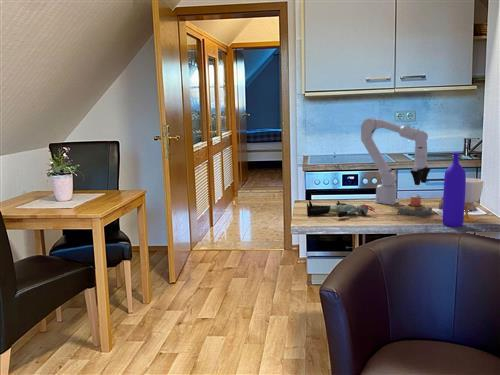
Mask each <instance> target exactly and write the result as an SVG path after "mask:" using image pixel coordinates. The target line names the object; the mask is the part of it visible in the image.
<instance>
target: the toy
mask: <svg viewBox="0 0 500 375" xmlns="http://www.w3.org/2000/svg"><path fill="white" fill-rule="evenodd" d="M335 204H336V205H332V206H331V205H319V204H318V205H316V204H312V202H311V200H310V198H308V203H307V202H306V214H307V217H309V216H310V217H312V216H314V217H315V216H317V217H318V215H319V216H323V215H326V214H328V213H336V215H335V217H336V218H344V217H346V216H347V215H350V216H351V215H354V214H355V213H357V214H358V215H360V216H366V215H367V214H368V213H369V211H370V212H375V208H373V207H372V206H370V205H367V204H364V203H363V204H359V205H357V206H355V205H353V204H349V203H348V204H347V203H345V202H344V203H342V202H340V201H339V200H337V202H336V203H335Z"/></svg>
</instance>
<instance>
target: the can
mask: <svg viewBox="0 0 500 375" xmlns="http://www.w3.org/2000/svg"><path fill="white" fill-rule="evenodd" d="M409 199H410V203H409V204H410V206H412V207H420V206H421V204H422V203H421V202H422V201H421V199H422V198H421V196H420V195H419V194H416V195H410V198H409Z"/></svg>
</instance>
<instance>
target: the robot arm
mask: <svg viewBox="0 0 500 375" xmlns="http://www.w3.org/2000/svg"><path fill="white" fill-rule="evenodd" d="M377 129H385V130H388V131H392V132H395V133H398V134H399V137H401V138H404V139H407V140H409V141H414V142H415V144H414V145H415V146H414V165H413V166H412V169H411V170H410V173H411V176H412V178H413V179H412V180H413V182H414V185H415V186H420V185H421V183H422V184H423V183H424V184H426V183H427V179H428V176H429V174H430V171H431V168H430V165H429V163H428V139H429V134H428V132H426V131H425V130H420V128H417V129H416V128H415V127H414V128H413V127H411V125H409V124H407V125H405V124H404V125H402V126H399V125H397V124H395V123H392V122H391V121H387V120H384V119H380V118H375V117H367V118H365V119H363V120H362V123H361V125H360V130H361V131H360V140H361V142H362V144H363V146H364V148H365V149H366V151H367V153H368V154H369V156H370V157H371V160H372V161H373V163H374V165H375V166H376V168H377V169H378V174H379V176H380V178H381V179H380V181H381V184H377V186H376V189H375V201H374V202H375V203H376V204H385V205H391V206H393V205H395V204H398V203H399V202H400V201H399V200H397V184H396V181H397V179H398V175H397V173H396V172H395V171H393V170H392V169H391V167H390V166H389V165H388V163H387V161H386V160H385V158H384V156H383V155H382V153H381V151H380V150H379V148H378V146H377V145H376V142H375V140H374V139H373V136H374V132H376V130H377Z"/></svg>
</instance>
